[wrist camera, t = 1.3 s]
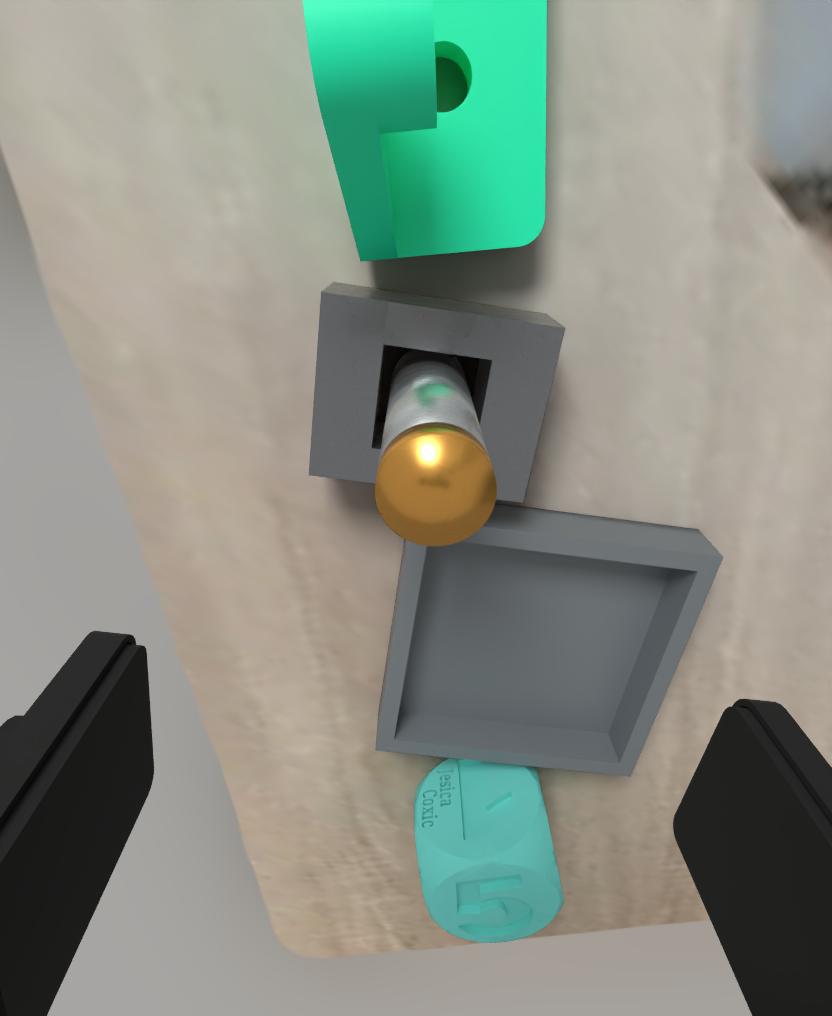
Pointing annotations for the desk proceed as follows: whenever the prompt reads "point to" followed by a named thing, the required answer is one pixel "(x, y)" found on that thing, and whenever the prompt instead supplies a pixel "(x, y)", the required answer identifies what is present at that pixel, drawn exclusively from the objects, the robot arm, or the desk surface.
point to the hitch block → (439, 328)
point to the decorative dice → (486, 850)
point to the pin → (433, 454)
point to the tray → (541, 639)
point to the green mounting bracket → (434, 121)
